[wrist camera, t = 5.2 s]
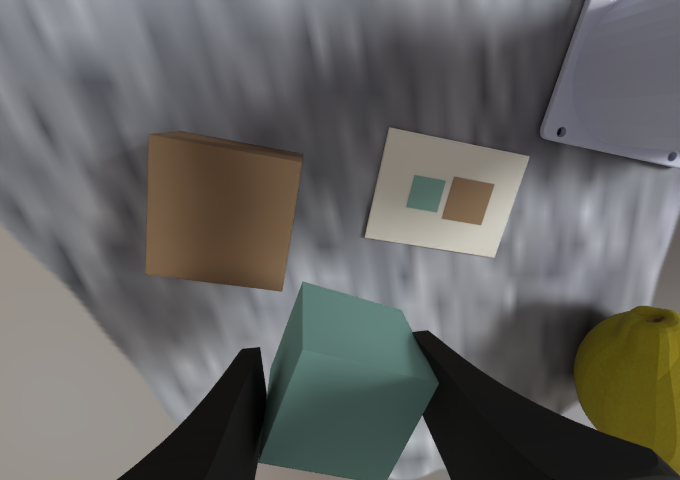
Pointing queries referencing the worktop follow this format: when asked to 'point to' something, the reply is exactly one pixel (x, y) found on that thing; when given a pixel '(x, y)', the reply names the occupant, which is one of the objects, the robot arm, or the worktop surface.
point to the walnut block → (219, 210)
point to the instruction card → (443, 193)
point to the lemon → (634, 379)
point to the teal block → (344, 387)
